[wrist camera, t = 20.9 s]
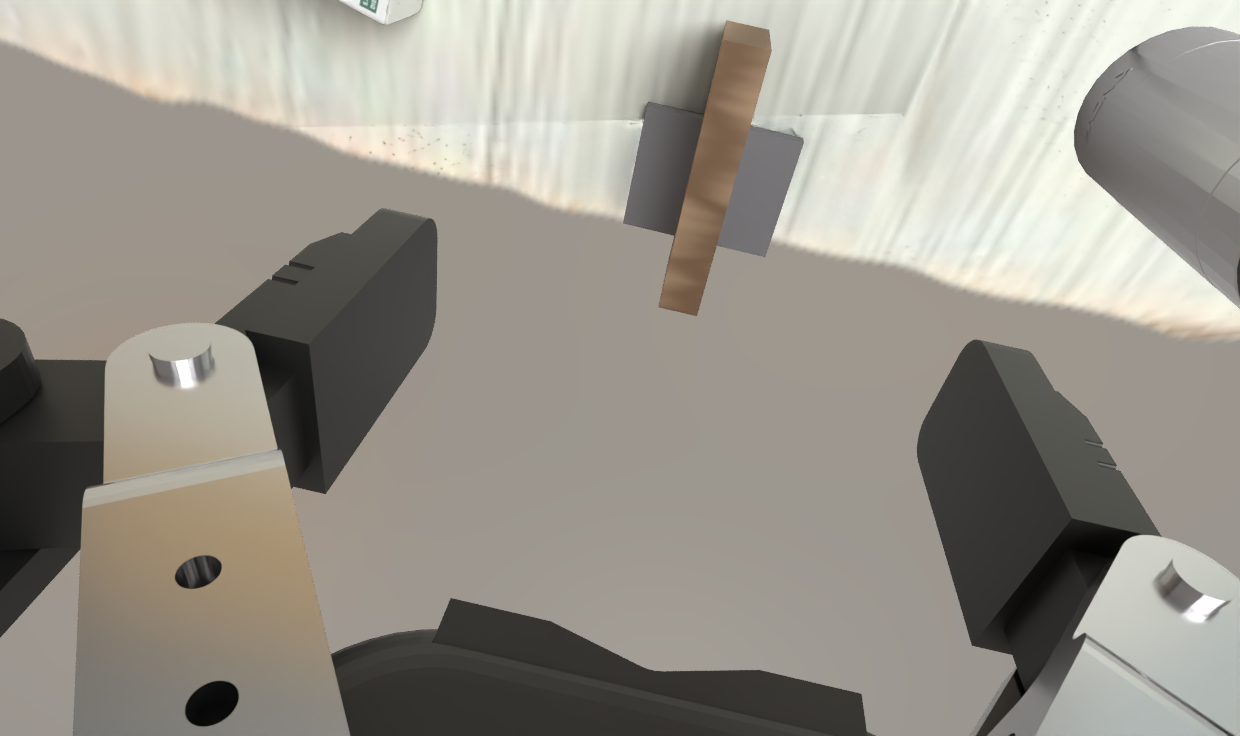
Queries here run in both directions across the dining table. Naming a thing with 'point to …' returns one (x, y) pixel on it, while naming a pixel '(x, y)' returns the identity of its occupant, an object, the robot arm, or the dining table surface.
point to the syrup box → (385, 9)
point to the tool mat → (669, 166)
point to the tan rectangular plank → (715, 163)
